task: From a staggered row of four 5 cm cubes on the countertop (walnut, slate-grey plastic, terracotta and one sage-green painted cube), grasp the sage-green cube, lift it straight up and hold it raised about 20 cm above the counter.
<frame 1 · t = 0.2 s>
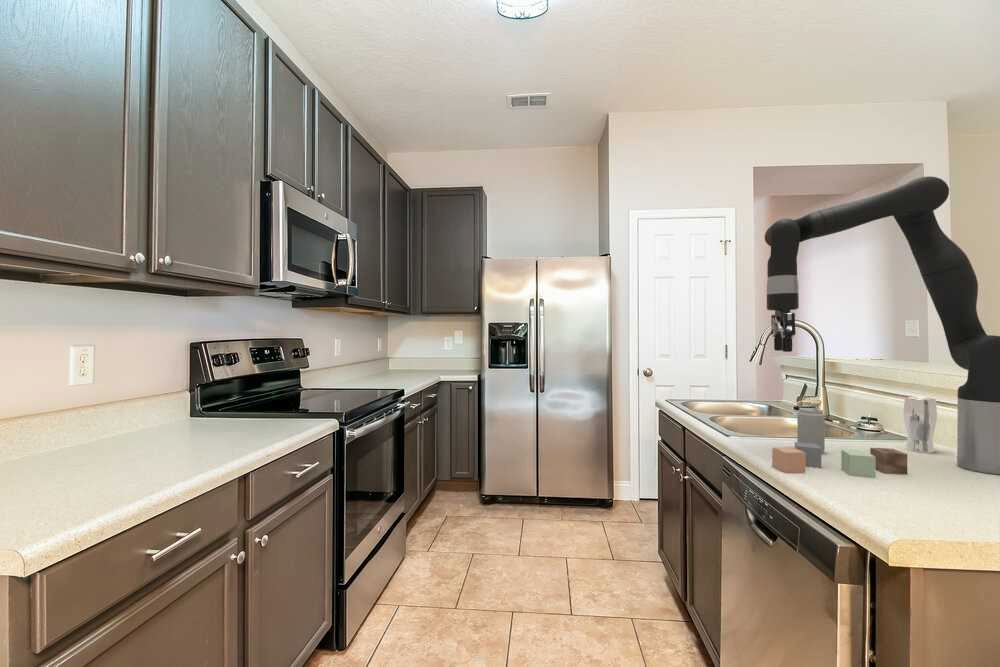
hand: (782, 351, 125), 29 cm above the counter, fingers open, 8 cm apart
terracotta cube: (788, 470, 111), on the counter
beer glass: (919, 451, 129), on the counter
beverage can: (810, 451, 128), on the counter
slate cube: (807, 464, 116), on the counter
walnut cube: (888, 471, 110), on the counter
sage cube: (857, 473, 108), on the counter
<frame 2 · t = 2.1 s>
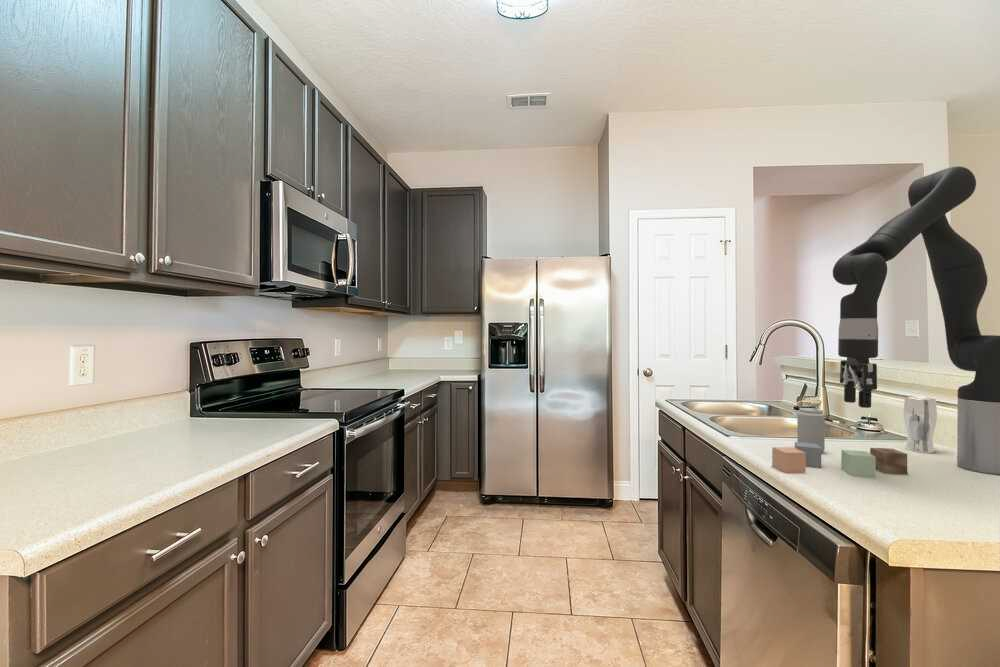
hand: (856, 404, 108), 16 cm above the counter, fingers open, 8 cm apart
nothing on the counter moved.
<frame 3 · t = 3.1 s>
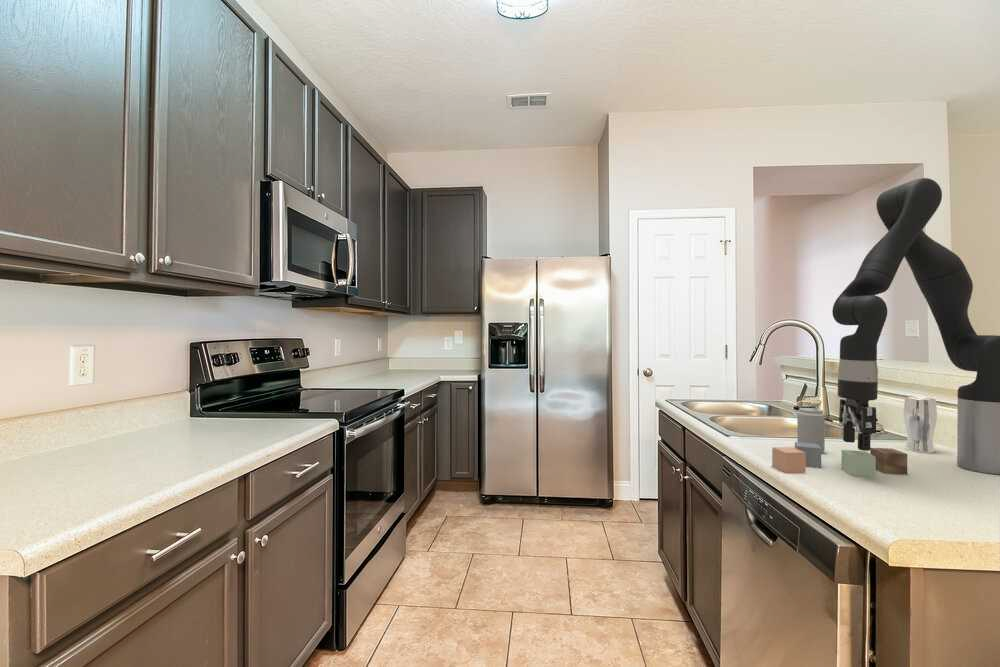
hand: (856, 446, 108), 7 cm above the counter, fingers open, 8 cm apart
nothing on the counter moved.
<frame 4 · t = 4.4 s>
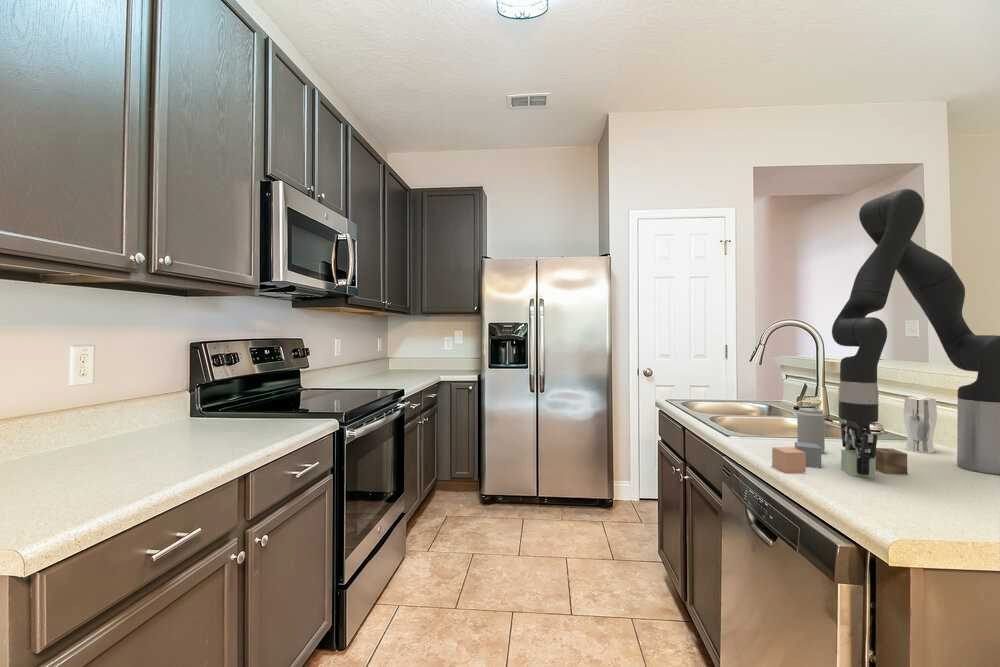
hand: (857, 470, 108), 1 cm above the counter, fingers closed on sage cube, 5 cm apart
sage cube: (857, 473, 108), on the counter, touching gripper
everything else where it was.
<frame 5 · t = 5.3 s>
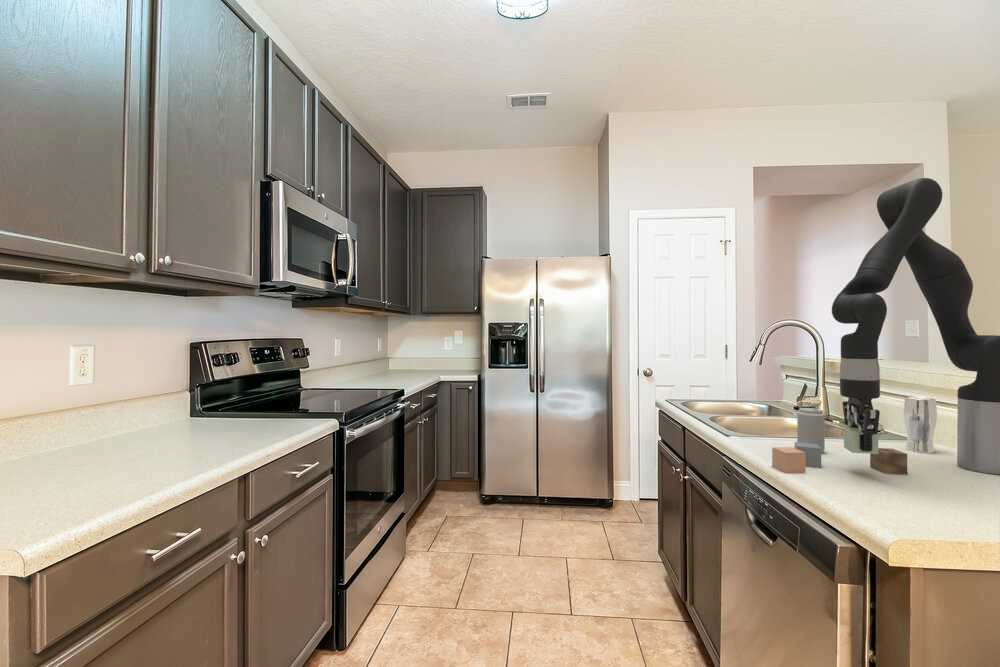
hand: (860, 447, 108), 6 cm above the counter, fingers closed on sage cube, 5 cm apart
sage cube: (860, 450, 108), point 6 cm above the counter, touching gripper
everything else where it was.
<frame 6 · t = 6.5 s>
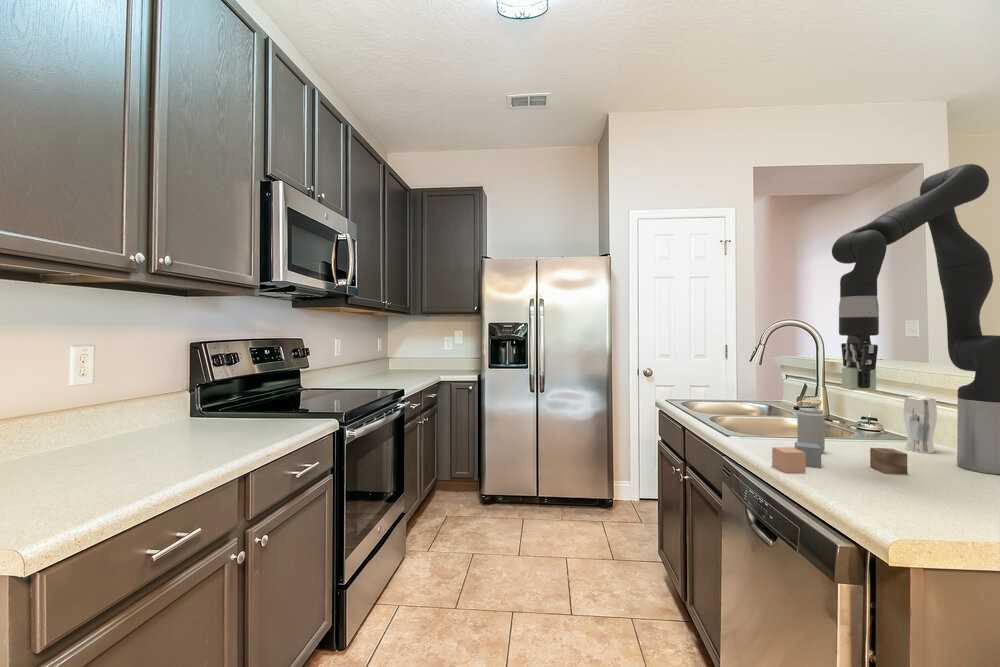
hand: (858, 386, 108), 21 cm above the counter, fingers closed on sage cube, 5 cm apart
sage cube: (858, 389, 108), point 20 cm above the counter, touching gripper
everything else where it was.
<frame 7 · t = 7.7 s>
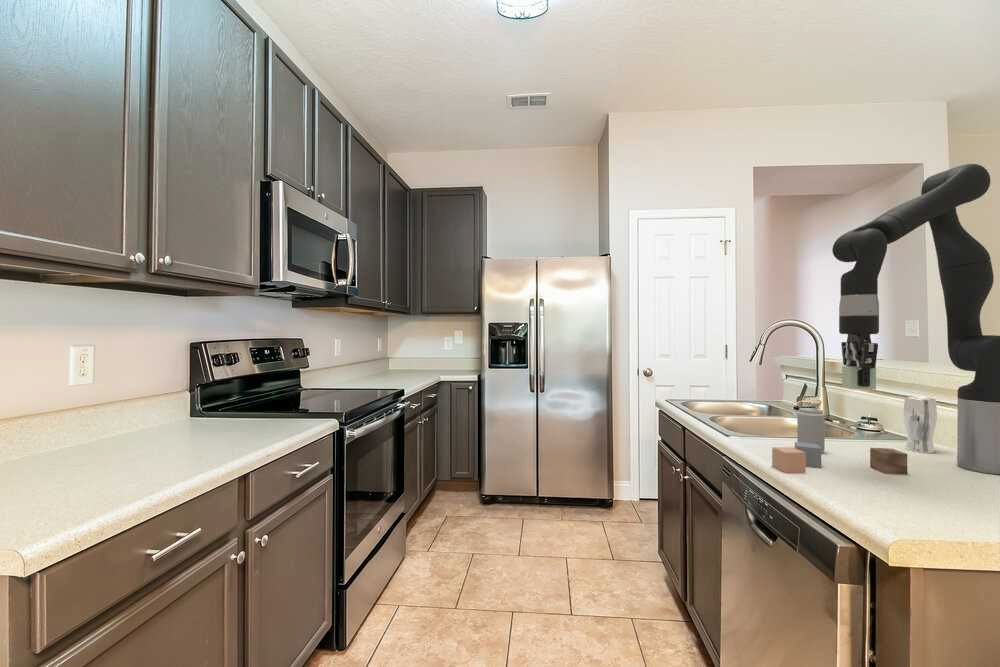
hand: (858, 384, 108), 21 cm above the counter, fingers closed on sage cube, 5 cm apart
sage cube: (858, 387, 108), point 21 cm above the counter, touching gripper
everything else where it was.
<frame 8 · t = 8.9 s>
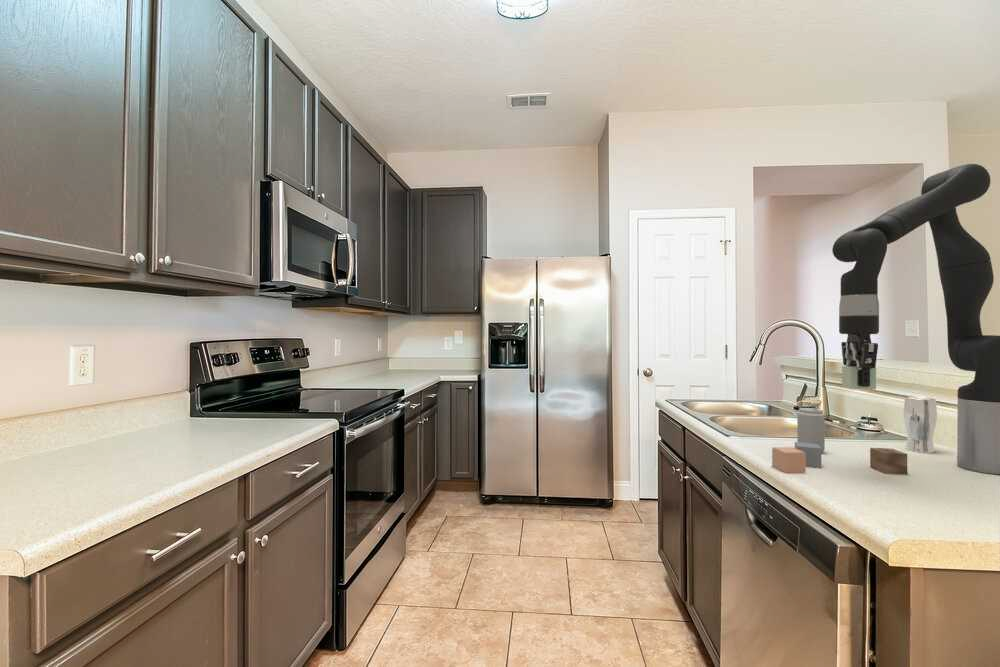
hand: (858, 384, 108), 21 cm above the counter, fingers closed on sage cube, 5 cm apart
sage cube: (858, 387, 108), point 21 cm above the counter, touching gripper
everything else where it was.
at the end: the gripper is holding sage cube; sage cube point 20.6 cm above the counter; slate cube moved 0.1 cm from its start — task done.
